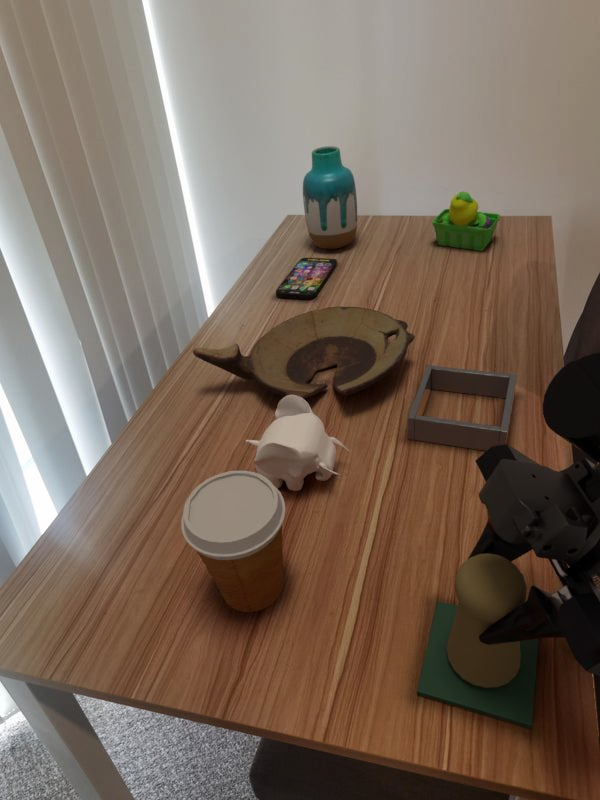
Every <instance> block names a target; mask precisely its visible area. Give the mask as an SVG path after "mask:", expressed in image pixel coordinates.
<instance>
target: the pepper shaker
mask: <svg viewBox="0 0 600 800" xmlns="http://www.w3.org/2000/svg"><path fill="white" fill-rule="evenodd" d="M468 558H469V557H468ZM468 558H467V559H468ZM527 588H528V587H527V583H526V580H525V577H524V574H523V573H522V572H521V570H520V569H519V567H518V566H517V565H516V564H514V563H513V561H512V562H511V561H509V560H508V559H506V558H504V557H502V556H499V555H495V554H490V553H488V554H479V555H476V556H473V557H471V558H469V559H468V560H465V561H464V562H462V563H461V565H460V567H459V568H458V570H457V572H456V573H455V579H454V590H455V591H454V592H455V595H456V599H457V601H458V604H457V606H458V608H457V612H456V615H455V619H454V622H453V625H452V629H451V632H450V635H449V639H448V644H447V654H448V659H449V661H450V663H451V665H452V667H453V669H454V670H455V671H456V672H457V673H458V674H459V675H460V676H461V677H462V678H463V679H465V680H466V681H468V682H470V683H472V684H473V685H477V686H481V687H485V688H488V687H499V686H502V685H504V684H507V683H508V682H510V681H511V680H512V679H513V678H514V677H515V676H516V674H517V672H518V670H519V668H520V660H521V653H520V641H516V642H508V643H500V644H492V645H487V644H484V643H482V642H480V640H479V636H480V635H481V634H482V633H483V632H484V631H485V630H486V629H487V628H488V627H489V626H491V625H492V624H494V623H495V622H497V621H498V620H500V619H501V618H503V617H504V616H506V615H507V614H509V613H510V612H512V611H513V610H515V609H516V608H518V607H519V606H521V605H522V604H524V603H525V602H526V601H527V593H528V592H527V591H528V590H527Z"/></svg>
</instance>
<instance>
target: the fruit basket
mask: <svg viewBox="0 0 600 800" xmlns="http://www.w3.org/2000/svg"><path fill="white" fill-rule="evenodd" d="M478 210H479V203H478V202H477V200H476V199H475V198H473V197H471V195H470V193H469V192H467V191H460V192H459V193H456V194H455V195H454V196H453V197H452V199H451V200H450V205H449V208H445V209H443V210H442V211H441V212H440V213H439V214H438V215H437V216H435V218H434V219H432V221H431V223H432V227H434V232H435V237H436V240H437V244H438V246H443V247H452V248H457V249H458V248H461V249H465V250H473V251H480V252H482V251H484V249H485V248H486V247H487V246H488V245H489V244H490V242H491V241H492V239H493V236H494V233H495V230H496V227H497V224H498V222H499V220H500V218H501V214H499V213H493V212H482V211H478Z"/></svg>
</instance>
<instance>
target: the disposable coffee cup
mask: <svg viewBox="0 0 600 800" xmlns="http://www.w3.org/2000/svg"><path fill="white" fill-rule="evenodd" d="M181 515H182V516H181V521H180V524H181V525H180V527H181V533H182V536H183V537H184V540H185V541H186V542H187V543H188V545H189V546H190V547H191V548H192V549H194V551H196V552H197V554H198V556H199V558H200V559H201V561H202V562H203V564H204V566H205V568H206V569H207V572H208V573H209V575H210V576H211V578H212V580H213V581H214V584H215V585H216V587H217V588H218V590H219V593H220V594H221V595H222V597H223V599H224V601H225V602H226V604H227V605H228V606H229V607H231V608H232V609H234V610H236V611H238V612H241V613H243V612H244V613H252V612H258V611H261V610H262V611H263V610H264V609H266V608H267V607H269V606H270V605H273V604H274V602H276V601H277V599H278V597H279V596H280V595H281V593H282V590H283V587H284V558H283V557H284V555H283V554H284V553H283V552H284V551H283V523H284V520H285V516H286V503H285V499H284V497H283V495H282V493H281V491H280V490H279V488H276V487H275V486H274V485H273V484H272V483H271V481H269V480H268V479H267V478H266V477H264V476H262V475H260V474H258V473H257V472H254V471H250V470H229V471H225V472H221V473H218V474H216V475H212V476H211V477H209V478H207V479H205V480H204V481H202V482H201V483H200V484H198V485H197V486H196V487H195V488H194V489H193V490H192V491H191V493H190V494H189V496H188V497H187V499H186V500H185V504H184V506H183V513H182V514H181Z"/></svg>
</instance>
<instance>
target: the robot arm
mask: <svg viewBox="0 0 600 800" xmlns="http://www.w3.org/2000/svg"><path fill="white" fill-rule="evenodd" d="M542 415H543V419H544V421H545V425H546V426H547V427H548V428H549V429H550V430H551V431H552V432H554V433H555V434H556V435H558V436H559V437H560V438H562V439H563V440H564V441H566V442H568V443H569V444H571V445H572V446H574V447H575V448H576V449H578V450H579V451H581V452H582V453H584V454H585V455H586V456H588V457H590V458H591V459H592V460H594V462H597V463H596V464H595V463H593V462H591V461H590V460H589V459H588V458H586V457H584V458H582V460H581V461H579V460H578V461H574V462H573V463H572V464H571V465H569V466H568V467H567V468H564V469H562V470H560V471H558V470H555V469H552V468H550V467H549V466H545V465H542V464H540V463H538V462H536V461H535V460H533V459H532V458H530V457H529V456H527V455H526V454H524V453H522V452H520V451H519V450H518V449H516V448H514V447H513V446H511V445H510V444H508V443H506V444H504V445H498V446H492V447H490V448H489V449H488V450H487V451H484V452H483V453H482V454H481V455H480V456H479V457H478V458H477V459H475V463H476V465H477V467H478V469H479V471H480V473H481V475H482V477H483V479H484V482H485V483H484V484H483V486H482V488H481V490H480V491H479V492H478V498H479V501H480V502H481V504H483V505H484V506H485V508H486V511H487V521H486V524H485V526H484V528H483V531H482V533H481V534H480V537H479V538H478V540H477V542H476V544H475V546H474V547H473V548H472V551H471V552H470V554H469V556H468V558H467V560H468V559H469V558H471V557H473V556H476V555H479V554H488V553H490V554H495V555H499V556H502V557H504V558H506V559H508V560H509V561H511V562H512V563H513V562H514V561H516V560H517V559H519V558H520V557H522V556H524V555H526V554H528V553H529V552H530V551H532V550H533V553H534V554H535V557H536V558H540V559H546V560H548V561H549V563H550V565H551V566H552V569H553V570H554V572H555V574H556V576H557V579H558V580H559V581H560V583H561V585H562V587H561V588H560V589H558V590H557V591H555V592H554V593H550V592H548V591H545V590H544V589H541V588H540V587H537V586H536V585H533V584H532V585H531V586H530V587H529V588H530V589H529V592H528V595H527V598H526V601H525V603H524V604H522V605H521V606H519V607H518V608H516V609H515V610H513V611H512V612H510V613H509V614H507V615H506V616H504V617H503V618H501V619H500V620H498V621H497V622H495V623H494V624H492V625H491V626H489V627H488V628H487V629H486V630H485V631H484V632H483V633H482V634H481V635H480V636H479V640H480V642H482V643H484V644H487V645H492V644H500V643H508V642H516V641H524V640H532V639H538V640H541V639H553V638H556V639H559V638H561V639H565V641H566V643H567V645H568V647H569V649H570V651H571V653H572V655H573V658H574V660H575V661H576V662H577V663H578V665H580V666H581V668H582V669H583V670H584V671H585V672H588V673H590V674H592V675H594V676H597V677H599V678H600V589H599V588H598V585H597V584H596V583H595V581H594V579H593V578H595V577H598V578H600V352H593V353H590V354H588V355H584V356H582V357H580V358H578V359H577V360H575V361H574V360H570V361H568V362H567V363H566V364H565V365H564V366H562V367H561V368H560V370H559V371H558V372H557V373H556V374H555V375H553V378H552V379H551V381H550V382H549V384H548V385H547V388H546V390H545V393H544V395H543V401H542Z"/></svg>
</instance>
